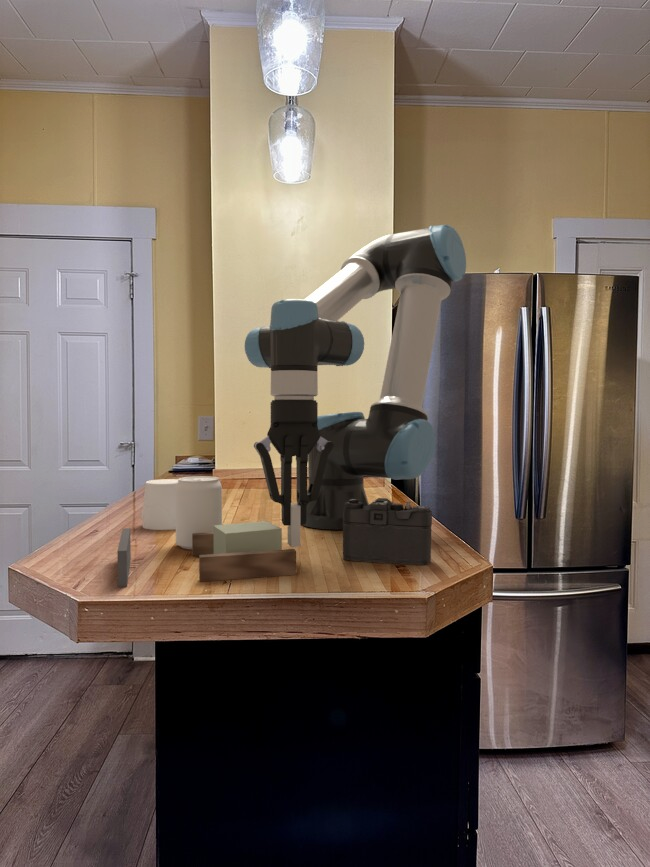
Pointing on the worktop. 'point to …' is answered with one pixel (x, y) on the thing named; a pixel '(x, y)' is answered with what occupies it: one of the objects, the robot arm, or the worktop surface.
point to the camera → (387, 532)
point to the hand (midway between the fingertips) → (293, 544)
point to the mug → (159, 505)
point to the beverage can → (197, 507)
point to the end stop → (124, 557)
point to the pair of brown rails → (240, 561)
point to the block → (247, 537)
